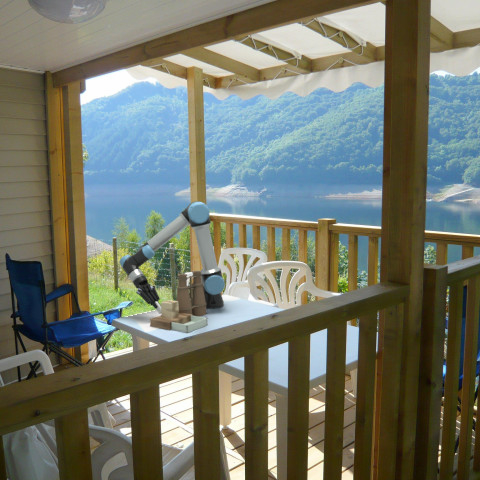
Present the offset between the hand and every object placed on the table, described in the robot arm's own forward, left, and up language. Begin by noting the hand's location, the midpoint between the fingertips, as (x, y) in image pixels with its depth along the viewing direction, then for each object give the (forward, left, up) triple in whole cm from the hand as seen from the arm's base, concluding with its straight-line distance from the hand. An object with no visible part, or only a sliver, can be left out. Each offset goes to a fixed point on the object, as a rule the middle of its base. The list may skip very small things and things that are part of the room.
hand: (161, 312), depth 273 cm
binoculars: (-18, +6, -6) cm, 20 cm away
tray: (0, +20, -6) cm, 21 cm away
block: (0, +6, -2) cm, 6 cm away
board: (0, +7, -6) cm, 9 cm away
